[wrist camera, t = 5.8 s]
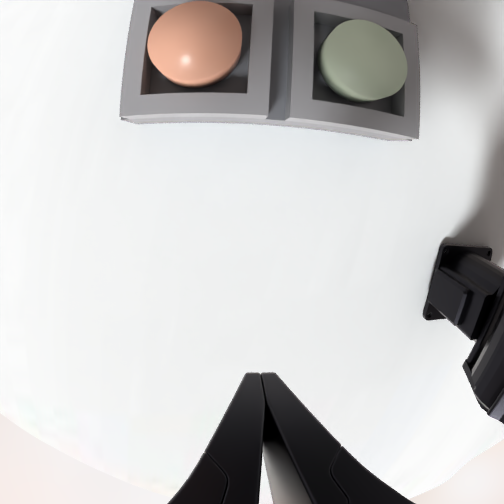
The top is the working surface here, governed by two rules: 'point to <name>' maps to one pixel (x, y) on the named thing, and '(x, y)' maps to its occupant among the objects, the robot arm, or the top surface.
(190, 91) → the console
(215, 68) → the terracotta button
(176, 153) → the top surface
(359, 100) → the sage button
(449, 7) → the top surface
